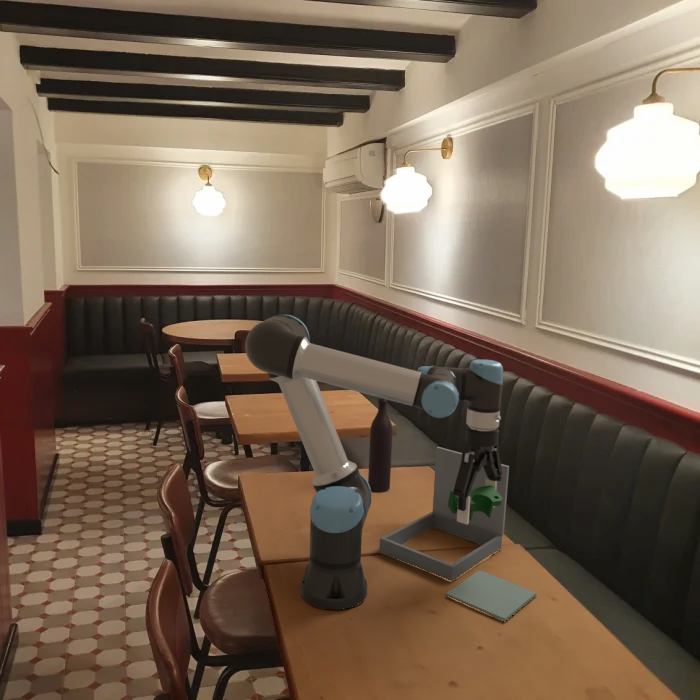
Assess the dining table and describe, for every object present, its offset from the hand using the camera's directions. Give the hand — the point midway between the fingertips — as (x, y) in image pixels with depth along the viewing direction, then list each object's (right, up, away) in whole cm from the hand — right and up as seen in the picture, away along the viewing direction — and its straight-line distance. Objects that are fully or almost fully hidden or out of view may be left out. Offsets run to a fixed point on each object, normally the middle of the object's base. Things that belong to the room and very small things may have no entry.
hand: (476, 514), depth 163 cm
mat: (+3, -18, -5) cm, 19 cm away
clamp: (0, 0, 0) cm, 1 cm away
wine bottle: (-21, -6, +59) cm, 63 cm away
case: (-6, -14, +17) cm, 22 cm away
